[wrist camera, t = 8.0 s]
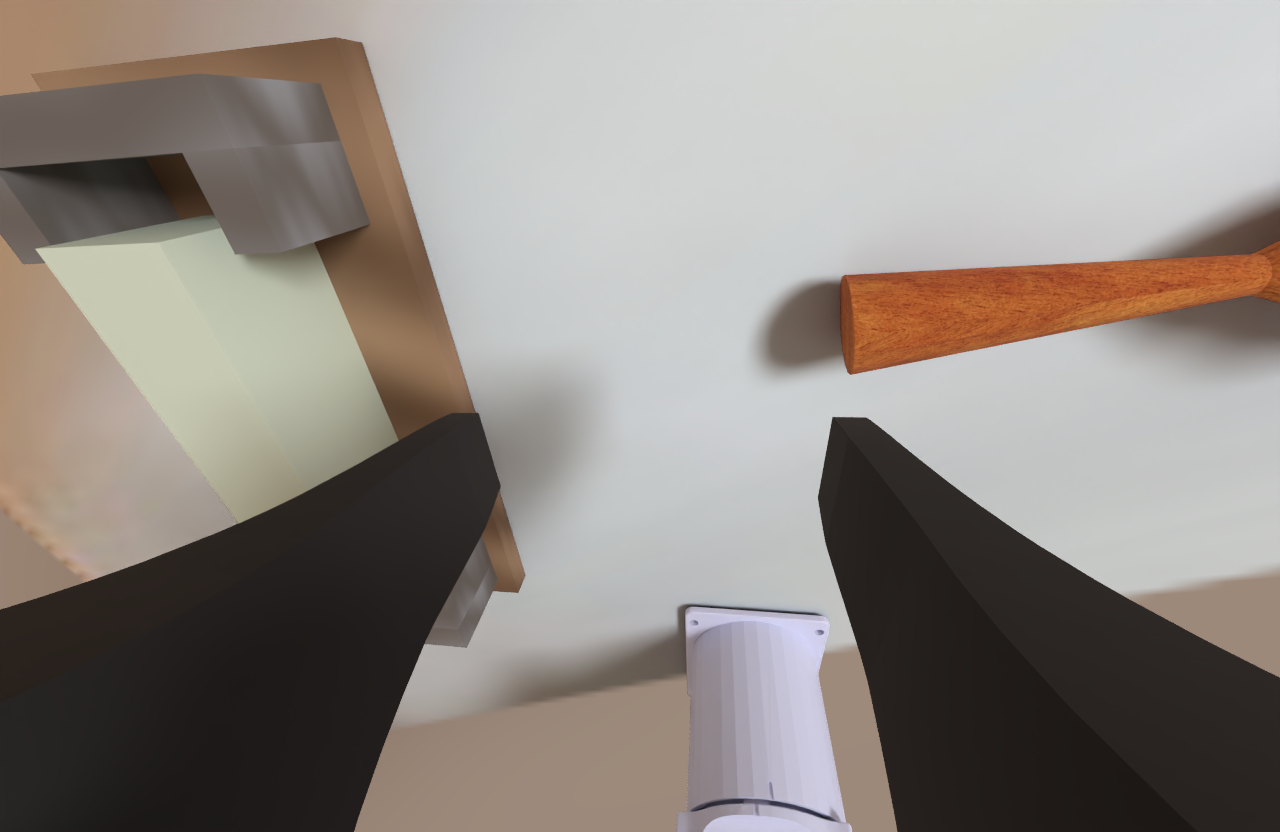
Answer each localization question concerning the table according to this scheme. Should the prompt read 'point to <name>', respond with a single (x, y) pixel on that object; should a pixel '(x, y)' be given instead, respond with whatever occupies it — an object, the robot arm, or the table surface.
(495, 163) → the table surface
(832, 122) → the table surface
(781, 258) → the table surface
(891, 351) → the brown piece
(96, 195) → the cradle
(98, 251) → the slat
